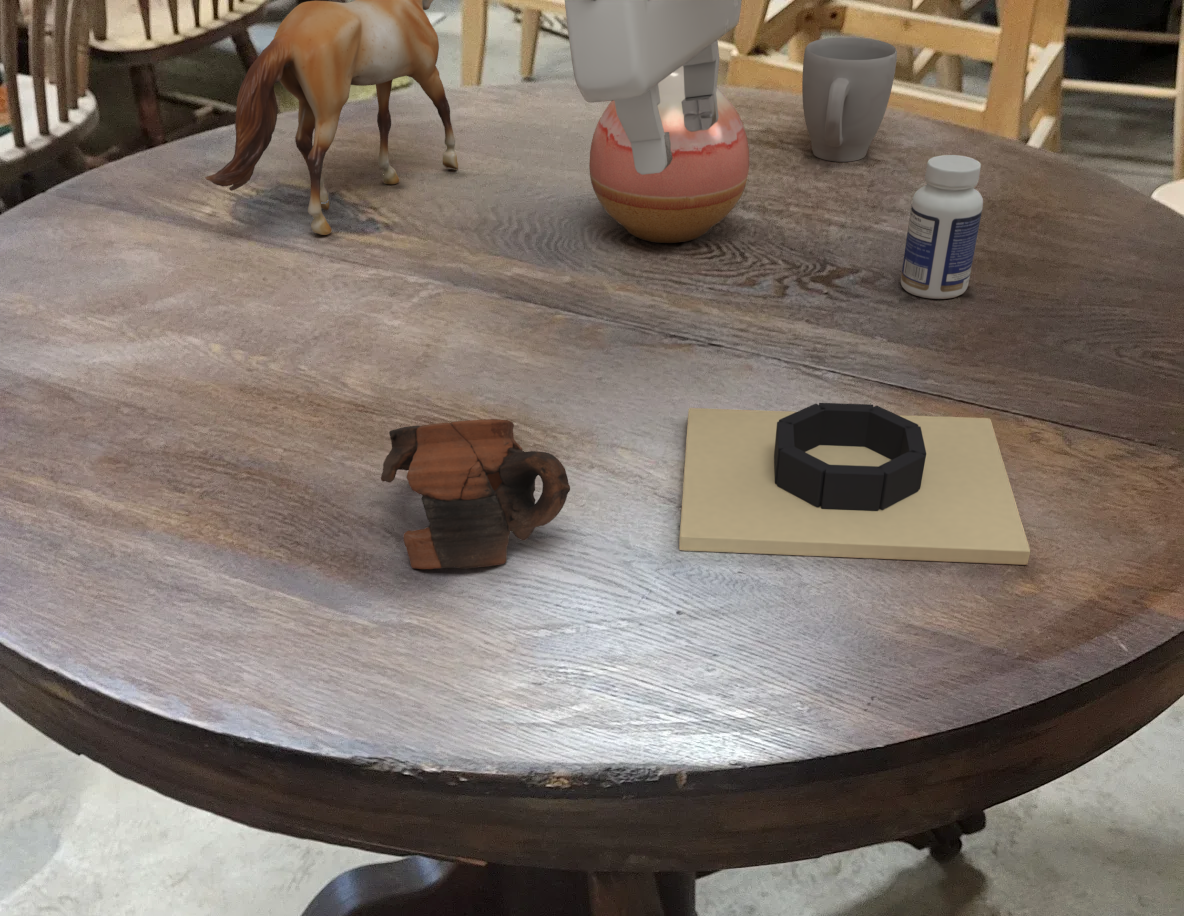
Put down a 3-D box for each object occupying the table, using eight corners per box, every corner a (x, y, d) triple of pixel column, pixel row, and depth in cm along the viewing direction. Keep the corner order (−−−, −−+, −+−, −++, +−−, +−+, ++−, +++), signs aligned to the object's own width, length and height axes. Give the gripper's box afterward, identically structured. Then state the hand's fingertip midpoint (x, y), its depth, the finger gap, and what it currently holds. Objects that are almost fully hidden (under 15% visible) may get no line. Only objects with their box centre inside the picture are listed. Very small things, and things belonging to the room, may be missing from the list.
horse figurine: (436, 149, 132) (417, -86, 119) (498, 161, 129) (485, -78, 116) (216, 246, 113) (163, -22, 99) (283, 264, 109) (237, -11, 96)
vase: (775, 240, 113) (795, 14, 101) (642, 272, 107) (647, 38, 96) (688, 194, 122) (696, -18, 110) (561, 221, 116) (556, 2, 105)
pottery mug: (359, 576, 75) (342, 431, 73) (440, 562, 83) (426, 431, 82) (547, 565, 70) (533, 409, 69) (612, 551, 79) (601, 412, 77)
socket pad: (987, 431, 86) (998, 382, 84) (1027, 565, 74) (1040, 513, 72) (687, 420, 88) (690, 372, 86) (679, 550, 76) (681, 498, 73)
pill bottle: (965, 276, 106) (988, 153, 100) (968, 303, 102) (992, 176, 96) (899, 272, 107) (917, 149, 101) (899, 298, 103) (918, 172, 97)
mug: (803, 136, 134) (813, 33, 128) (889, 143, 132) (903, 40, 126) (781, 173, 126) (790, 65, 120) (872, 181, 124) (886, 72, 118)
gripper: (635, -118, 59) (678, 194, 67) (749, -158, 74) (773, 101, 82) (512, -93, 62) (567, 205, 70) (646, -137, 77) (679, 113, 85)
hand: (679, 148), depth 76 cm, fingers open, 8 cm apart
